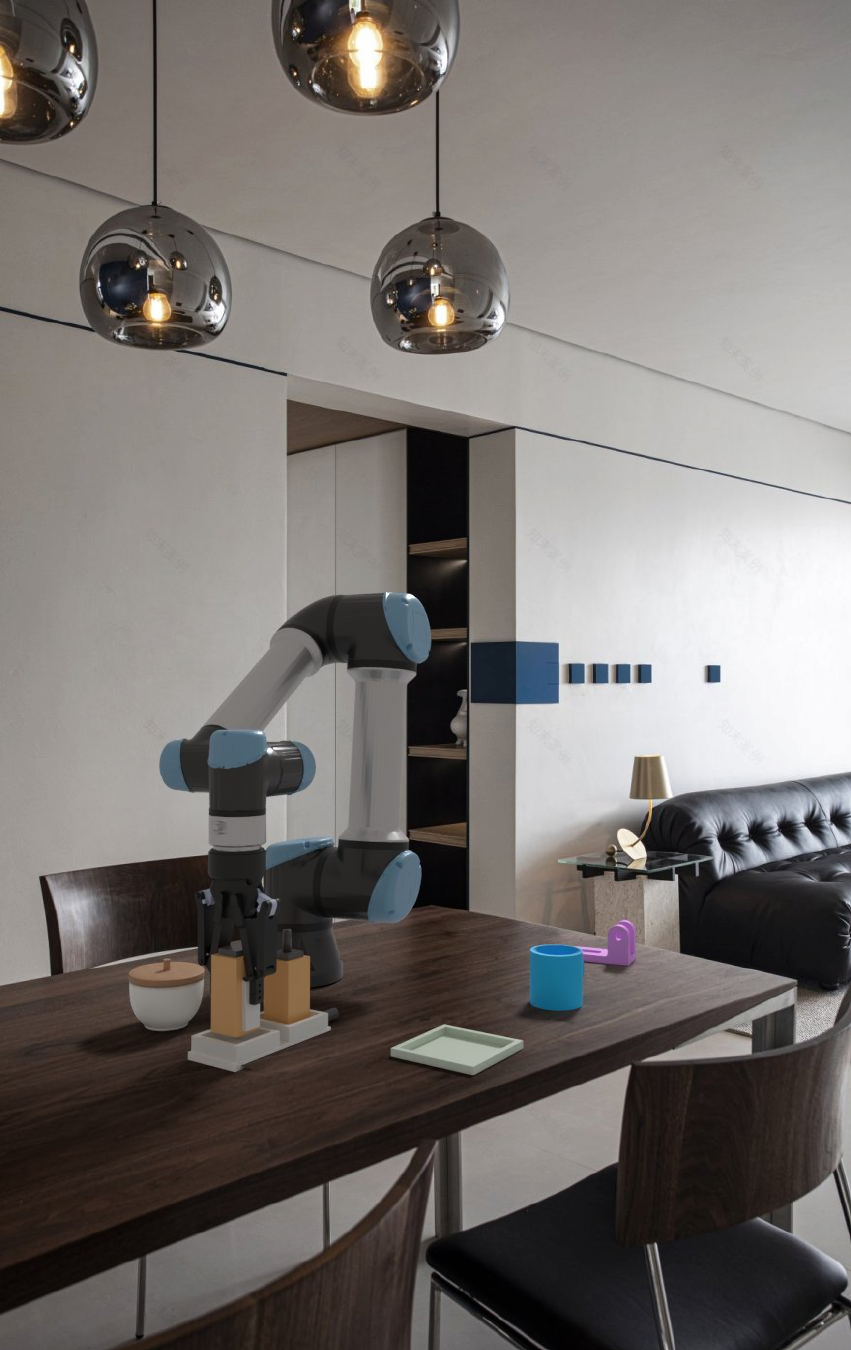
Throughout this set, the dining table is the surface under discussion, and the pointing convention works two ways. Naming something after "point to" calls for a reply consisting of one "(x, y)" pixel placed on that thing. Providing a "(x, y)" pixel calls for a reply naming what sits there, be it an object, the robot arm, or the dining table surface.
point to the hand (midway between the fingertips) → (236, 1024)
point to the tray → (457, 1049)
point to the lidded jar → (166, 993)
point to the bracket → (615, 946)
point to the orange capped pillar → (227, 991)
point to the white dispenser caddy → (270, 1017)
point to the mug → (556, 977)
